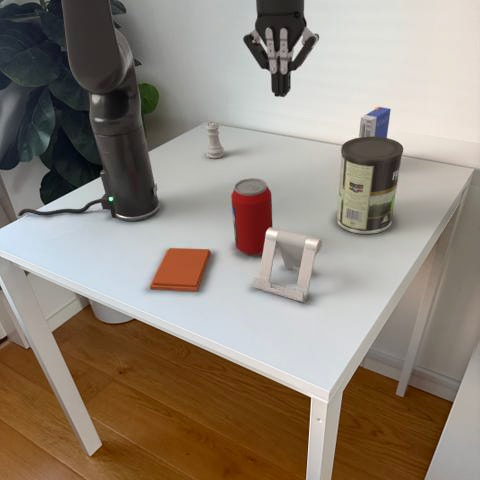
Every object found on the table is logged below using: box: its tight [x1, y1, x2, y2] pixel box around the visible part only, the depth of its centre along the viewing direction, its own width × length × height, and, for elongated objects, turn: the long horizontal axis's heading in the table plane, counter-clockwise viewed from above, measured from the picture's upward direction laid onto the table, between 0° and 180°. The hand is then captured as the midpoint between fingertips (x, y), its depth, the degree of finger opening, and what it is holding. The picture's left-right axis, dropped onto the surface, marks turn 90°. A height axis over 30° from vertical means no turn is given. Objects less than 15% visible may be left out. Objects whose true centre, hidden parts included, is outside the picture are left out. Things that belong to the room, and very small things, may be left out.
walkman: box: [358, 106, 392, 138], centre depth 104 cm, size 8×3×12 cm, turn 138°
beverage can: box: [230, 177, 273, 256], centre depth 83 cm, size 7×7×12 cm
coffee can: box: [336, 137, 404, 235], centre depth 87 cm, size 10×10×14 cm
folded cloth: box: [149, 247, 212, 293], centre depth 83 cm, size 8×11×1 cm
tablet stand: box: [252, 227, 323, 303], centre depth 75 cm, size 9×8×8 cm
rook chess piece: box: [205, 120, 225, 160], centre depth 116 cm, size 4×4×8 cm
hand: (281, 95), depth 84 cm, fingers closed
